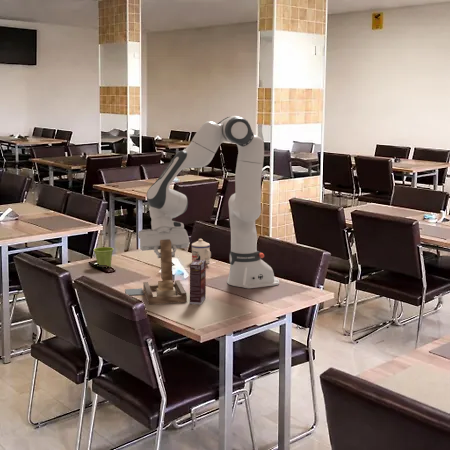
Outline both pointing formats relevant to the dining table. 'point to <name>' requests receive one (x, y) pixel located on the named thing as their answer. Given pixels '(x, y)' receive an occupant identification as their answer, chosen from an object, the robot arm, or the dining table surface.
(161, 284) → the offcut top
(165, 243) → the slat
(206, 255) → the teacup with lid
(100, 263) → the plant pot
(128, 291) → the mat
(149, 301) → the tray
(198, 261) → the supplement box
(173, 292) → the offcut low
